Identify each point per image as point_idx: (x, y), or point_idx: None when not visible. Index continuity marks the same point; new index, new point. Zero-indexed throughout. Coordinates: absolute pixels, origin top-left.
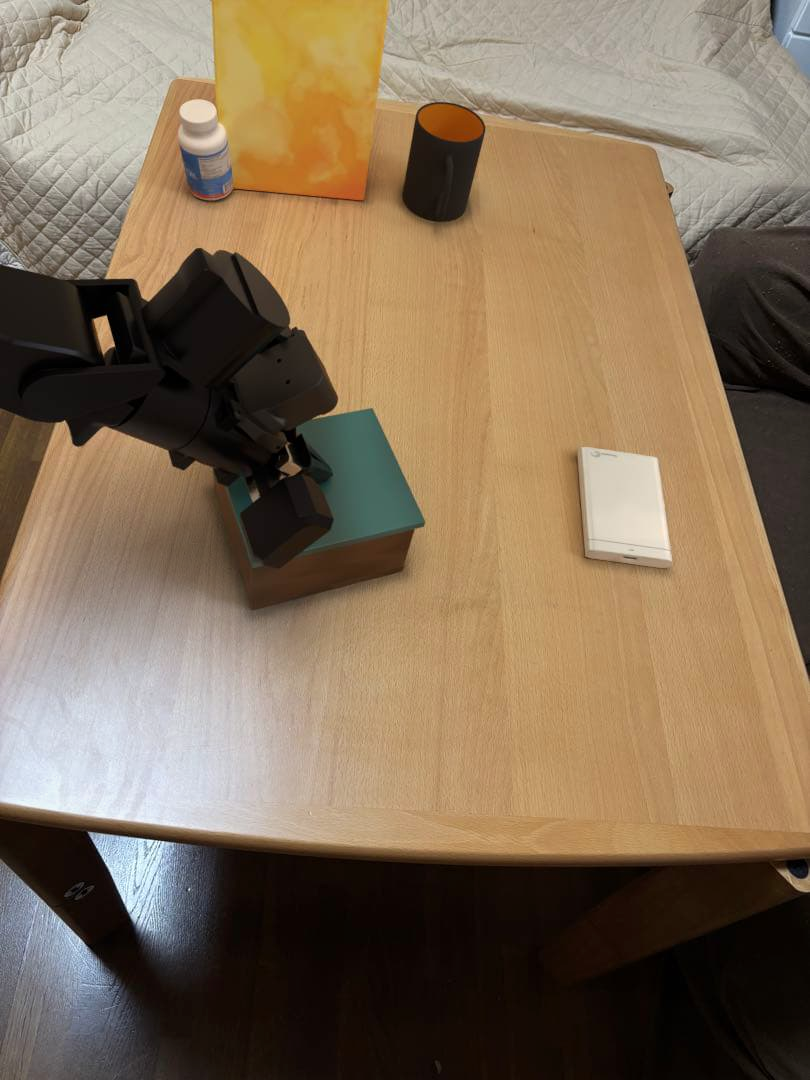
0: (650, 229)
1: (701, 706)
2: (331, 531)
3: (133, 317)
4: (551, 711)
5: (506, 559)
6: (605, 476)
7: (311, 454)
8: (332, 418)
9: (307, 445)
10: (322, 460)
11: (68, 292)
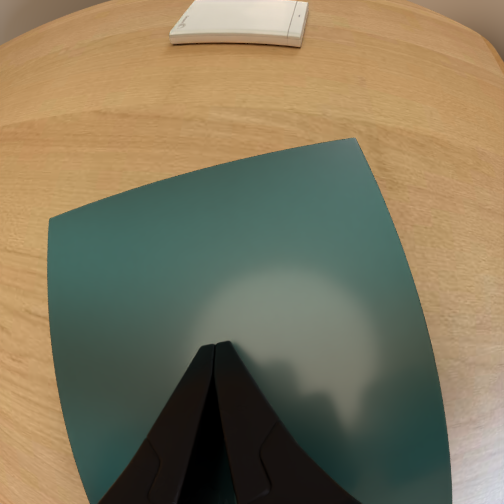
0: (12, 43)
1: (426, 33)
2: (400, 353)
3: None
4: (470, 116)
5: (307, 105)
6: (209, 20)
7: (199, 428)
8: (55, 310)
9: (166, 445)
10: (197, 376)
11: None
